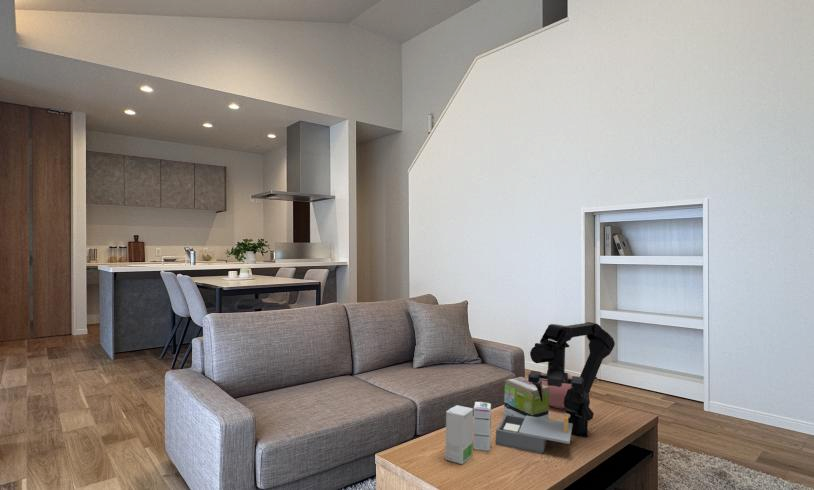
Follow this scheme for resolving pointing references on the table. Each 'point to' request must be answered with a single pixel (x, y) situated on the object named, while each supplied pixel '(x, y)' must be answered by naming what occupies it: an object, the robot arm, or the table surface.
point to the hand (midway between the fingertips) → (555, 403)
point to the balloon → (557, 394)
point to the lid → (547, 429)
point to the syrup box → (482, 426)
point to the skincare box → (459, 434)
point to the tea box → (525, 399)
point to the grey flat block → (517, 436)
